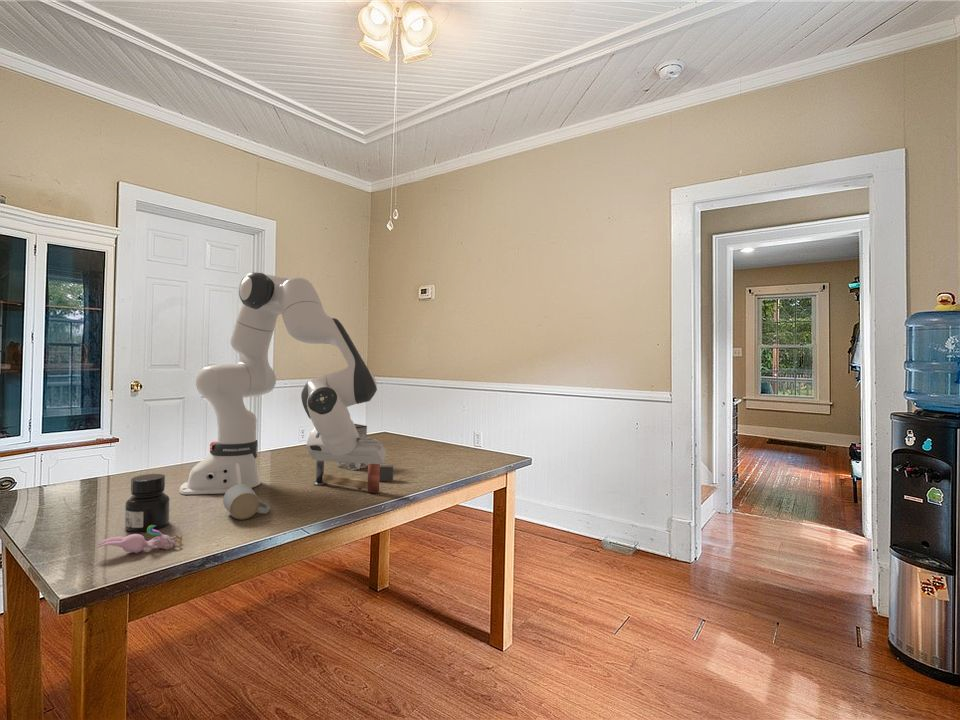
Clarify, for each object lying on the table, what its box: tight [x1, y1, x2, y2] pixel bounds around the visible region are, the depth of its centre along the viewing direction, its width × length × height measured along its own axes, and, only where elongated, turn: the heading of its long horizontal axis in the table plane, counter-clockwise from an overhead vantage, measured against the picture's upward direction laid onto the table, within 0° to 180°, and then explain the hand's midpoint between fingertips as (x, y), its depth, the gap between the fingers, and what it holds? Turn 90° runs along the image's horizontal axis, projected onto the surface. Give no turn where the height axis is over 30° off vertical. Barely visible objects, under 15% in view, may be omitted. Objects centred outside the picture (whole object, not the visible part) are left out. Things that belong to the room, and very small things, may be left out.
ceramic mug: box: [222, 484, 271, 521], centre depth 126 cm, size 11×8×8 cm
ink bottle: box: [124, 473, 170, 533], centre depth 117 cm, size 10×9×12 cm
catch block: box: [379, 464, 394, 481], centre depth 163 cm, size 5×2×5 cm, turn 98°
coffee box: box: [337, 423, 368, 471], centre depth 180 cm, size 9×6×16 cm
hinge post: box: [312, 460, 327, 486], centre depth 157 cm, size 4×4×14 cm
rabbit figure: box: [96, 525, 183, 554], centre depth 102 cm, size 6×6×15 cm
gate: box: [322, 463, 381, 494], centre depth 152 cm, size 21×4×11 cm, turn 68°
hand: (354, 466), depth 134 cm, fingers closed
